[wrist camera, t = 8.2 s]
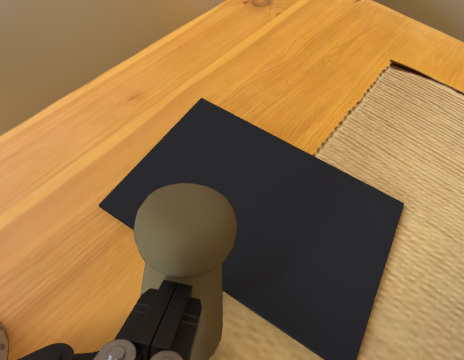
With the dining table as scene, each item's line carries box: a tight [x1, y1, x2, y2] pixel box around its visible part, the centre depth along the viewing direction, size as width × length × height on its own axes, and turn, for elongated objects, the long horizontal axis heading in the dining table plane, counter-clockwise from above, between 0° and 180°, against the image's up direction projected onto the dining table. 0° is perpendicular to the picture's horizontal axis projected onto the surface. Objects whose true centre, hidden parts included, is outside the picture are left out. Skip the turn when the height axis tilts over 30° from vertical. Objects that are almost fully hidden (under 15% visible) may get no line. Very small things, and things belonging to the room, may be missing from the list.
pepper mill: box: [134, 183, 237, 360], centre depth 16 cm, size 6×6×11 cm
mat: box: [99, 98, 404, 360], centre depth 25 cm, size 16×24×1 cm, turn 58°
